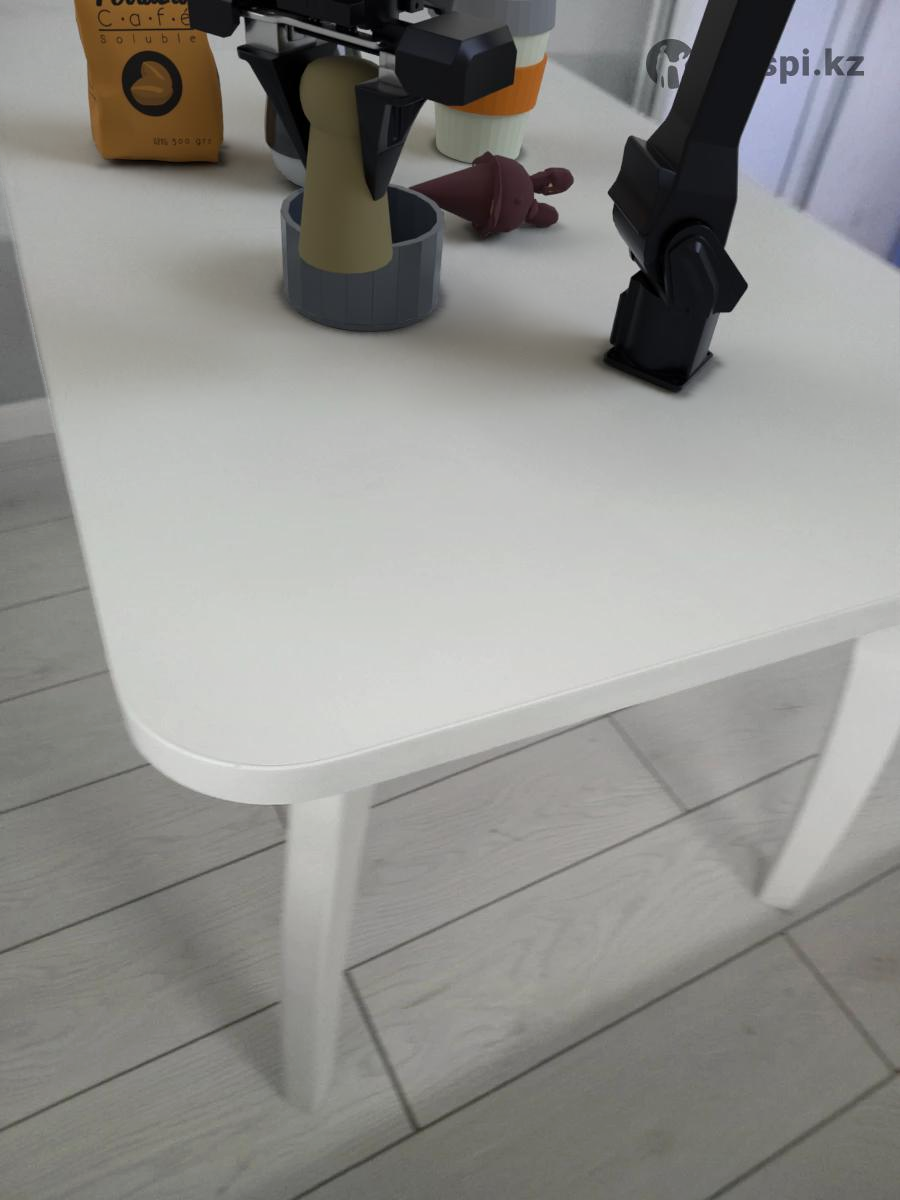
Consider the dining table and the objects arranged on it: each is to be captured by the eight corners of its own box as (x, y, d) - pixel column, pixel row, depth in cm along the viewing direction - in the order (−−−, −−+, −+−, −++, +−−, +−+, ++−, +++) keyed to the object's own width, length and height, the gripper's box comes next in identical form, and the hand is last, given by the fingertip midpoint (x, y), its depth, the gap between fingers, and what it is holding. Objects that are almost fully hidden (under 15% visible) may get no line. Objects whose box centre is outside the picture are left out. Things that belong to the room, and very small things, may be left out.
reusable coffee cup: (538, 176, 94) (564, 7, 84) (416, 164, 94) (426, -8, 83) (533, 133, 103) (555, -25, 92) (421, 122, 102) (431, -38, 92)
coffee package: (227, 173, 88) (204, -114, 72) (91, 171, 86) (36, -126, 70) (225, 135, 95) (203, -135, 79) (98, 132, 92) (50, -147, 77)
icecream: (426, 181, 74) (591, 192, 79) (407, 125, 78) (566, 139, 83) (409, 252, 80) (564, 258, 85) (392, 197, 84) (542, 206, 88)
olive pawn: (412, 258, 59) (422, 68, 51) (337, 282, 56) (335, 84, 48) (354, 223, 62) (354, 39, 54) (279, 245, 59) (269, 52, 51)
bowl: (466, 291, 75) (475, 212, 71) (375, 348, 68) (378, 264, 63) (349, 244, 80) (350, 167, 75) (252, 293, 72) (246, 210, 67)
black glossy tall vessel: (266, 157, 92) (257, -23, 81) (371, 162, 93) (375, -14, 82) (262, 199, 85) (250, 8, 74) (375, 204, 86) (380, 17, 75)
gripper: (588, -117, 47) (542, 193, 58) (303, -172, 53) (311, 117, 64) (473, -96, 40) (446, 251, 51) (161, -162, 46) (197, 160, 57)
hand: (346, 188), depth 56 cm, fingers closed on olive pawn, 4 cm apart
